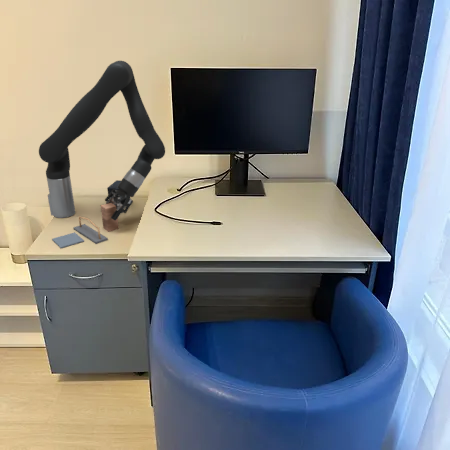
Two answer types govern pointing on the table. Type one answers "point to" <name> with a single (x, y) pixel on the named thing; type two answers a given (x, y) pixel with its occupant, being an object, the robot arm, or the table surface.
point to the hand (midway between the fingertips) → (108, 215)
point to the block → (109, 217)
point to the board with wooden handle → (90, 232)
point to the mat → (68, 240)
